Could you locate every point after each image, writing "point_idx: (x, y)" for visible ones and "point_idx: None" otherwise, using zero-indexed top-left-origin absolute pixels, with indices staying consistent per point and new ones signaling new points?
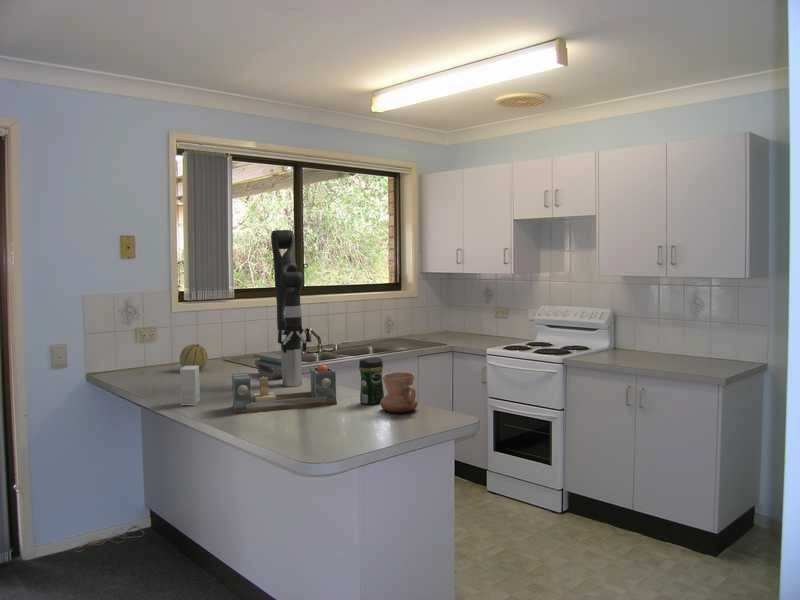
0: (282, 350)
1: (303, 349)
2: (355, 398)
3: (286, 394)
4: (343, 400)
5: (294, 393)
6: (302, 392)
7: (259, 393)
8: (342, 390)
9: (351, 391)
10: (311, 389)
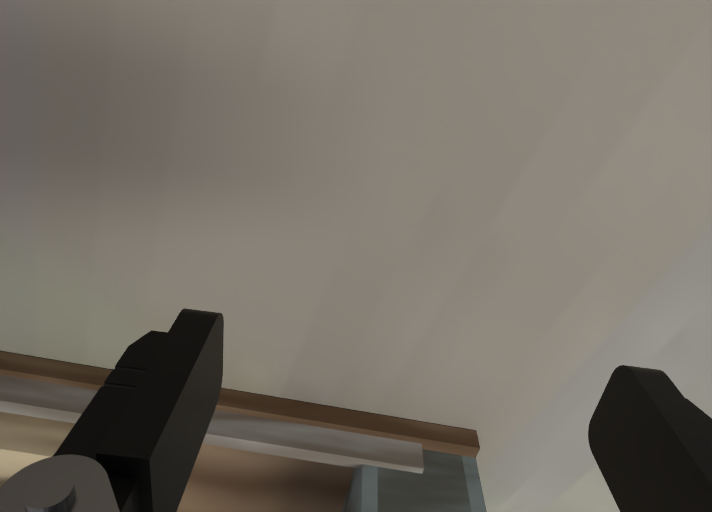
0: (127, 351)
1: (608, 460)
2: (574, 503)
3: (204, 440)
4: (498, 505)
5: (255, 450)
6: (307, 457)
7: (13, 451)
8: (682, 313)
9: (698, 369)
10: (358, 492)
